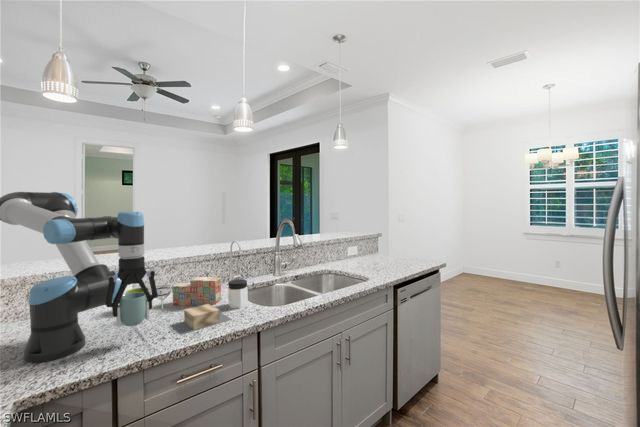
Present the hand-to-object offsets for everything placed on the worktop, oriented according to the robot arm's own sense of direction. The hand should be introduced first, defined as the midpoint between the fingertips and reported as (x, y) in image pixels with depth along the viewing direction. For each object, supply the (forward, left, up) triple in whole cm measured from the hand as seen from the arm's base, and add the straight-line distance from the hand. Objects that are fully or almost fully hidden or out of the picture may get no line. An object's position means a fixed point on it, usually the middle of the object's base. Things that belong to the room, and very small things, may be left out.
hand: (133, 321), depth 104 cm
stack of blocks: (+32, +25, -8) cm, 41 cm away
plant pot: (+9, +37, -8) cm, 38 cm away
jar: (+43, +7, -8) cm, 44 cm away
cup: (0, 0, -1) cm, 1 cm away
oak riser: (+23, -1, -6) cm, 24 cm away
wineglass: (+15, +22, -8) cm, 27 cm away
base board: (+23, -1, -7) cm, 24 cm away
